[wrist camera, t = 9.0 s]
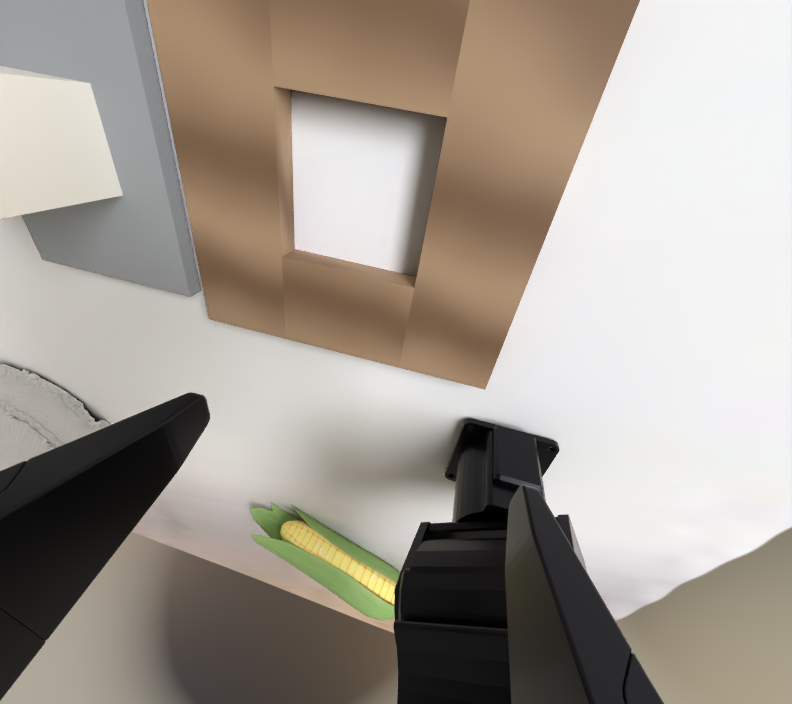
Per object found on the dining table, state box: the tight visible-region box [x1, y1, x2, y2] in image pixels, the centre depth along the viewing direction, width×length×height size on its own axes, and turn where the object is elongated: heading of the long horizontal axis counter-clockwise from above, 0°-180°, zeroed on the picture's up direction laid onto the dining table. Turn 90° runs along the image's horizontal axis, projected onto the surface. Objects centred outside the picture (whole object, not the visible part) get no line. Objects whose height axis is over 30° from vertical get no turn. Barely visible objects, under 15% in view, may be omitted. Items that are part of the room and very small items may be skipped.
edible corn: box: [250, 503, 400, 621], centre depth 36 cm, size 5×20×5 cm
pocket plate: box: [147, 0, 640, 389], centre depth 17 cm, size 18×18×2 cm
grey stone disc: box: [0, 364, 111, 471], centre depth 36 cm, size 20×20×7 cm
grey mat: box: [0, 0, 201, 296], centre depth 18 cm, size 16×11×1 cm
